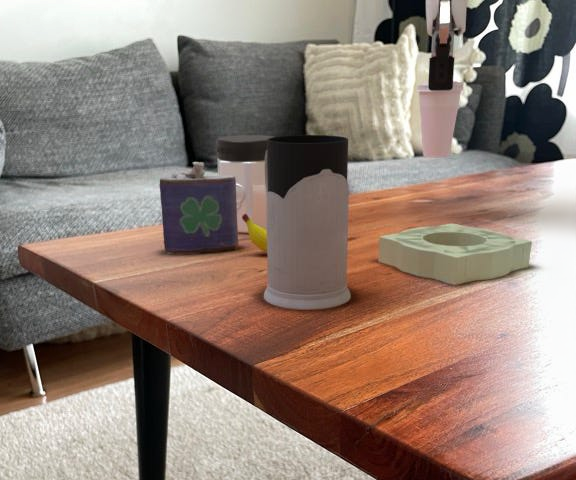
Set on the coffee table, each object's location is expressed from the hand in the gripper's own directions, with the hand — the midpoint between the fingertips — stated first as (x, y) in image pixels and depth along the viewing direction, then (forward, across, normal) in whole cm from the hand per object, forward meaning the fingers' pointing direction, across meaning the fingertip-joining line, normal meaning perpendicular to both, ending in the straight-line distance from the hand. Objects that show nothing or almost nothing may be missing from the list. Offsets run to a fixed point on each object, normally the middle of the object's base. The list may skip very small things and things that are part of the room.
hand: (439, 87), depth 100 cm
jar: (+18, -11, +26) cm, 33 cm away
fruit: (+18, -25, +18) cm, 36 cm away
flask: (+17, -25, +28) cm, 42 cm away
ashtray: (+18, -27, -2) cm, 32 cm away
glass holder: (+18, -39, +14) cm, 45 cm away
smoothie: (+9, 0, 0) cm, 9 cm away
